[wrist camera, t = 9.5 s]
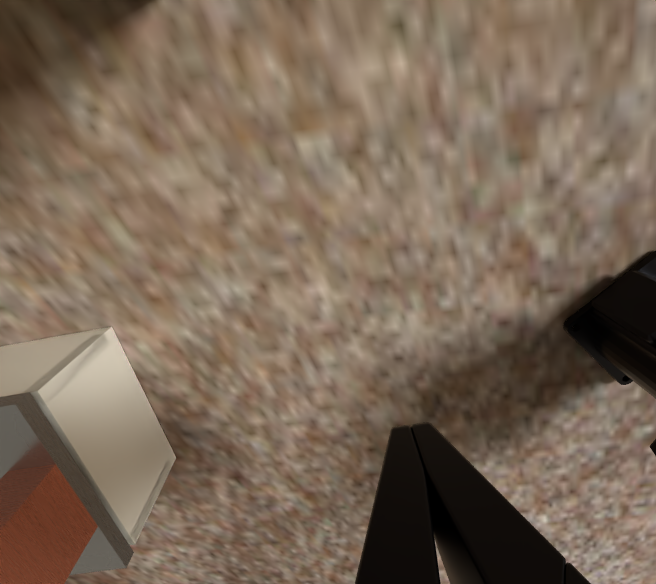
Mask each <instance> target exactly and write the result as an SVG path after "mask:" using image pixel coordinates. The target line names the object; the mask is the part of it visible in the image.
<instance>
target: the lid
mask: <svg viewBox="0 0 656 584" xmlns="http://www.w3.org/2000/svg"><path fill="white" fill-rule="evenodd" d="M133 553H134V552H133V550H132V549H131V547H130V546H129V544H128V543H127V541H126V539H125V538H124V536H123V535H122V533H121V532H120V530H119V529H118V527H117V526H116V524H115V523H114V521H113V519H112V518H111V516H110V515H109V513H108V512H107V510H106V509H105V507H104V506H103V504H102V502H101V501H100V499H99V498H98V496H97V495H96V493H95V492H94V490H93V489H92V487H91V486H90V484H89V482H88V481H87V479H86V478H85V476H84V475H83V473H82V472H81V470H80V469H79V467H78V465H77V464H76V462H75V461H74V459H73V458H72V456H71V455H70V453H69V452H68V450H67V449H66V447H65V445H64V444H63V442H62V441H61V439H60V438H59V436H58V435H57V433H56V432H55V430H54V429H53V427H52V425H51V424H50V422H49V421H48V419H47V418H46V416H45V415H44V413H43V412H42V410H41V408H40V407H39V405H38V404H37V402H36V401H35V399H34V398H33V396H32V395H31V393H30V392H27V393H21V394H15V395H9V396H3V397H0V584H64V583H65V581H66V580H67V578H68V576H69V575H73V574H81V573H89V572H97V571H105V570H113V569H121V568H127V566H128V563H129V561H130V559H131V557H132V555H133Z"/></svg>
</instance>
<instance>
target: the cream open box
mask: <svg viewBox="0 0 656 584" xmlns="http://www.w3.org/2000/svg"><path fill="white" fill-rule="evenodd" d="M27 392H30V393H31V395H32V396H33V398H34V399H35V401H36V402H37V404H38V405H39V407H40V408H41V410H42V412H43V413H44V415H45V416H46V418H47V419H48V421H49V422H50V424H51V425H52V427H53V429H54V430H55V432H56V433H57V435H58V436H59V438H60V439H61V441H62V442H63V444H64V445H65V447H66V449H67V450H68V452H69V453H70V455H71V456H72V458H73V459H74V461H75V462H76V464H77V465H78V467H79V469H80V470H81V472H82V473H83V475H84V476H85V478H86V479H87V481H88V482H89V484H90V486H91V487H92V489H93V490H94V492H95V493H96V495H97V496H98V498H99V499H100V501H101V502H102V504H103V506H104V507H105V509H106V510H107V512H108V513H109V515H110V516H111V518H112V519H113V521H114V523H115V524H116V526H117V527H118V529H119V530H120V532H121V533H122V535H123V536H124V538H125V539H126V541H127V543H128V544H129V545H134V544H136V542H137V540H138V538H139V535H140V533H141V531H142V529H143V527H144V525H145V523H146V521H147V519H148V516H149V514H150V512H151V510H152V508H153V506H154V504H155V502H156V500H157V497H158V495H159V493H160V491H161V489H162V487H163V485H164V483H165V481H166V479H167V476H168V474H169V472H170V470H171V468H172V466H173V464H174V462H175V460H176V456H175V454H174V452H173V450H172V448H171V446H170V444H169V442H168V440H167V438H166V436H165V434H164V432H163V430H162V428H161V426H160V424H159V422H158V420H157V418H156V416H155V413H154V411H153V409H152V407H151V405H150V403H149V401H148V399H147V397H146V395H145V393H144V391H143V389H142V387H141V385H140V383H139V381H138V379H137V377H136V375H135V373H134V371H133V369H132V367H131V365H130V363H129V361H128V359H127V357H126V355H125V353H124V351H123V348H122V346H121V344H120V342H119V340H118V338H117V336H116V334H115V332H114V330H113V328H112V327H107V328H101V329H95V330H90V331H84V332H79V333H73V334H67V335H62V336H56V337H51V338H45V339H39V340H34V341H28V342H23V343H17V344H12V345H6V346H0V397H3V396H9V395H15V394H21V393H27Z"/></svg>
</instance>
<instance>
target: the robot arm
mask: <svg viewBox="0 0 656 584" xmlns="http://www.w3.org/2000/svg"><path fill="white" fill-rule="evenodd" d="M575 324H576V326H575V327H573V325H575ZM572 327H573V328H572ZM563 328H564V329H565V331H566V332H567V333H568V334H569V335H570V336H571V337H572V338H573V339H574V340H575V341H576V342H577V343H578V344H579V345H580V346H581V347H582V348H583V349H584V350H586V351H587V352H588V353H589V354H590V355H591V356H592V357H593V358H594V359H595V360H596V361H597V362H598V363H599V364H600V365H601V366H602V367H603V368H604V369H605V370H606V371H607V372H608V373H609V374H610V375H611V376H612V377H613V378H614V379H615V380H616V381H617V382H618V383H620V384H621V385H626V384H629V383H631V382H633V381H634V382H635V383H637V384H638V385H639V386H641V387H642V388H643V389H644V390H646V391H647V392H648V393H649V394H651V395H652V396H653V397H654V398H656V251H655V252H653V253H652V254H650V255H649V256H648V257H647V258H645V259H644V260H643V261H641V262H640V263H639V264H638V265H636V266H635V267H634V268H632V269H631V270H630V271H629V272H627V273H626V274H625V275H624V276H622V277H621V278H620V279H618V280H617V281H616V282H615V283H613V284H612V285H611V286H609V287H608V288H607V289H606V290H604V291H603V292H602V293H600V294H599V295H598V296H597V297H595V298H594V299H593V300H592V301H590V302H589V303H588V304H586V305H585V306H584V307H583V308H581V309H580V310H579V311H577V312H576V313H575V314H574V315H572V316H571V317H570V318H569V319H567V320H566V321H565V323H564V325H563ZM650 448H651V449H652V451H653V452H654V454H655V455H656V439H655V440H654V441H653V443H652V444H651V445H650ZM434 538H435V539H434ZM435 541H436V544H437V547H438V550H439V553H440V556H441V559H442V561H443V564H444V567H445V570H446V573H447V576H448V578H449V581H450V584H590V583H589V581H588V580H587V579H586V578H585V577H584V576H583V575H582V574H581V573H580V572H579V571H578V570H577V569H576V568H575V567H574V566H573V565H572V564H571V563H566V560H565V558H564V557H563V556H562V555H561V554H560V553H559V552H558V551H557V550H556V549H555V548H554V547H553V546H552V545H551V544H550V543H549V542H548V541H547V540H546V539H545V538H544V537H543V536H542V535H541V534H540V533H539V532H538V531H537V530H536V529H535V528H534V527H533V526H532V525H531V524H530V523H529V522H528V521H527V520H526V519H525V518H524V517H523V516H522V515H521V514H520V513H519V512H518V511H517V510H516V509H515V508H514V507H513V506H512V505H511V504H510V503H509V502H508V501H507V499H506V498H505V497H504V496H503V495H502V494H501V493H500V492H499V491H498V490H497V489H496V488H495V487H494V486H493V485H492V484H491V483H490V482H489V481H488V480H487V479H486V478H485V477H484V476H483V475H482V474H481V473H480V472H479V471H478V470H477V469H476V468H475V467H474V466H473V465H472V464H471V463H470V462H469V461H468V460H467V459H466V458H465V457H464V456H463V455H462V454H461V453H460V452H459V451H458V450H457V449H456V448H455V447H454V446H453V445H452V444H451V443H450V442H449V441H448V440H447V439H446V438H445V437H444V436H443V435H442V434H441V433H440V432H439V431H438V430H437V429H436V428H435V427H434V426H433V425H432V424H430V423H428V422H424V423H418V424H413V425H412V426H411V427H410V426H409V425H404V426H397V427H393V428H392V429H391V432H390V436H389V440H388V445H387V449H386V453H385V457H384V462H383V466H382V470H381V474H380V479H379V483H378V487H377V491H376V496H375V500H374V504H373V508H372V513H371V517H370V521H369V526H368V530H367V534H366V538H365V543H364V547H363V551H362V555H361V560H360V564H359V568H358V572H357V577H356V581H355V584H440V577H439V569H438V562H437V554H436V547H435Z"/></svg>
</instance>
